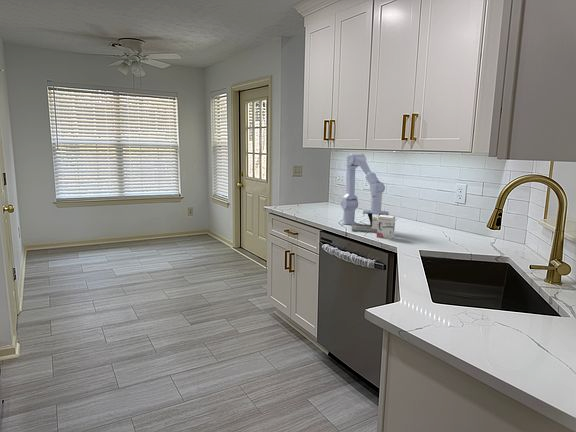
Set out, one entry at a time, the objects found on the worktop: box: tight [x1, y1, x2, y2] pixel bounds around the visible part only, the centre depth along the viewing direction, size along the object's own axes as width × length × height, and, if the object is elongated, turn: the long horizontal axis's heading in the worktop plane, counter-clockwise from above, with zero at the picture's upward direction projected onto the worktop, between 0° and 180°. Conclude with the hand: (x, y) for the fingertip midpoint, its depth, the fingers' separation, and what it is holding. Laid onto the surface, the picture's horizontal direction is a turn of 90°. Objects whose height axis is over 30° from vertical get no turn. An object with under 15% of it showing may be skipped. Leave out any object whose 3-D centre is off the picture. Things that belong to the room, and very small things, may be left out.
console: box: [351, 223, 377, 234], centre depth 241 cm, size 17×19×1 cm
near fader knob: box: [371, 218, 378, 230], centre depth 236 cm, size 5×4×5 cm
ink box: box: [376, 215, 396, 240], centre depth 221 cm, size 9×5×12 cm, turn 62°
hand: (374, 226), depth 236 cm, fingers closed on near fader knob, 3 cm apart
